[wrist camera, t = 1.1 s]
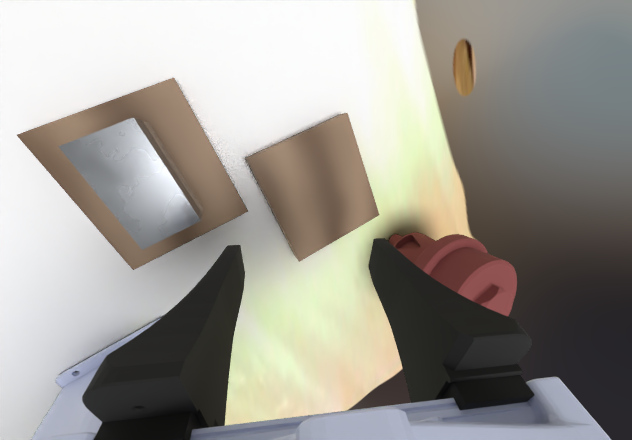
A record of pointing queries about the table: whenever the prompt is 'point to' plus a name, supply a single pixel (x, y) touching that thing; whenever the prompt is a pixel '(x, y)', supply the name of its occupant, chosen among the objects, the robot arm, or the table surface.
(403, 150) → the table surface
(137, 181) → the block
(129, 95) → the stand
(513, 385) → the robot arm
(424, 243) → the mechanical component
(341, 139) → the stand
